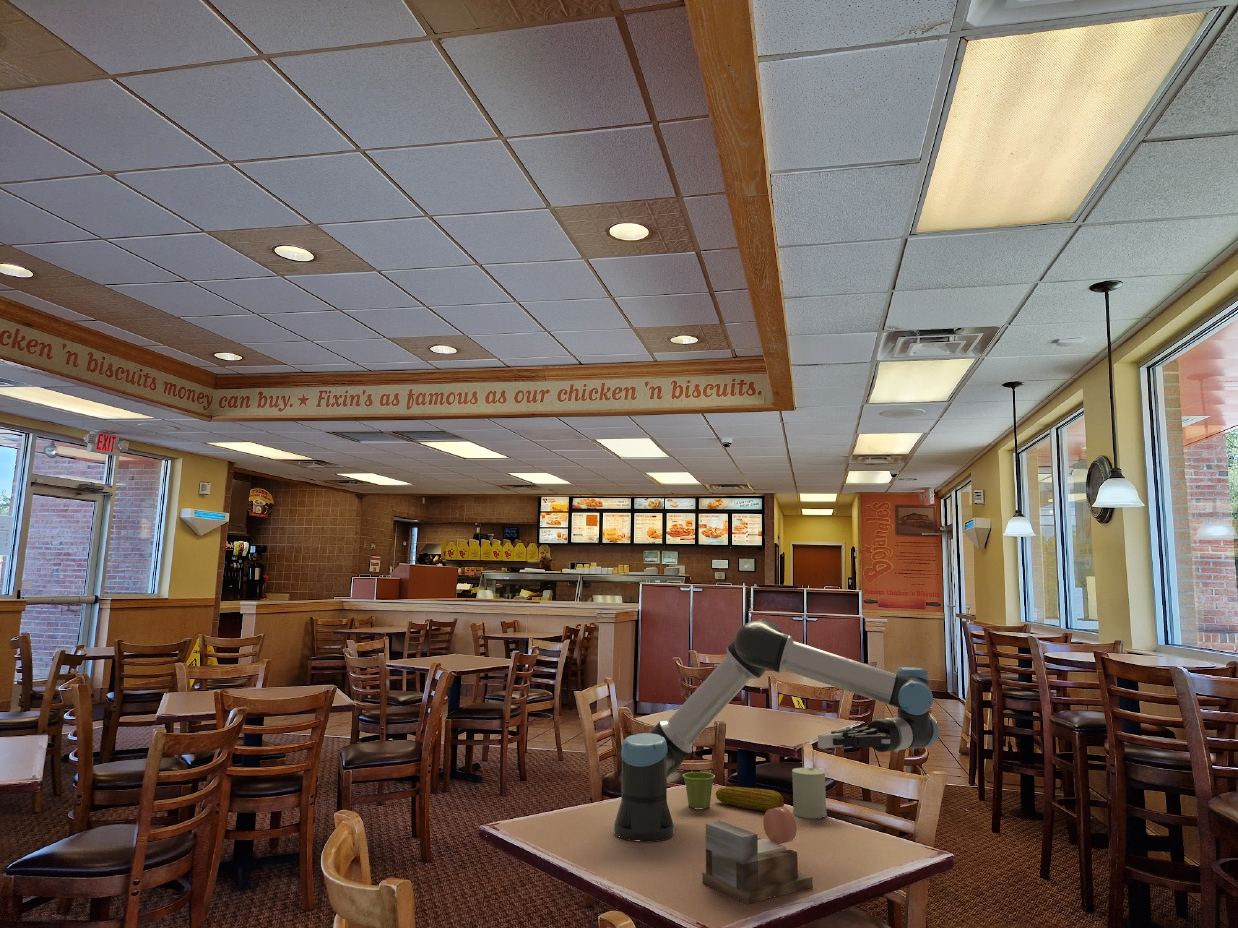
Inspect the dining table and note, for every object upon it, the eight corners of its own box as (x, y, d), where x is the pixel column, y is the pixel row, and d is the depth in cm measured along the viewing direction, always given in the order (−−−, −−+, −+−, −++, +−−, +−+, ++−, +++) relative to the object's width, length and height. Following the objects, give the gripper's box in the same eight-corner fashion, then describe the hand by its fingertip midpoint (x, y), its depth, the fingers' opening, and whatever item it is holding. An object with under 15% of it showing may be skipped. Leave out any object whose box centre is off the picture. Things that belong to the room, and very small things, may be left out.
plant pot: (681, 810, 222) (681, 777, 224) (684, 801, 232) (683, 770, 233) (714, 811, 221) (714, 779, 222) (716, 803, 230) (715, 772, 231)
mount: (747, 904, 154) (746, 838, 156) (702, 882, 165) (702, 821, 167) (812, 887, 163) (811, 825, 165) (765, 867, 175) (764, 810, 177)
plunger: (751, 882, 159) (750, 819, 161) (728, 871, 165) (728, 811, 167) (797, 870, 166) (796, 810, 168) (774, 861, 172) (773, 803, 174)
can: (829, 812, 222) (828, 767, 224) (823, 820, 214) (822, 773, 216) (796, 808, 226) (795, 764, 228) (789, 816, 217) (788, 770, 220)
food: (786, 812, 222) (785, 789, 223) (777, 816, 217) (777, 793, 218) (719, 800, 234) (719, 779, 235) (710, 804, 229) (710, 783, 230)
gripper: (911, 755, 186) (842, 764, 173) (867, 746, 196) (799, 753, 184) (910, 722, 187) (842, 729, 174) (866, 714, 198) (799, 720, 185)
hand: (820, 741), depth 179 cm, fingers closed
